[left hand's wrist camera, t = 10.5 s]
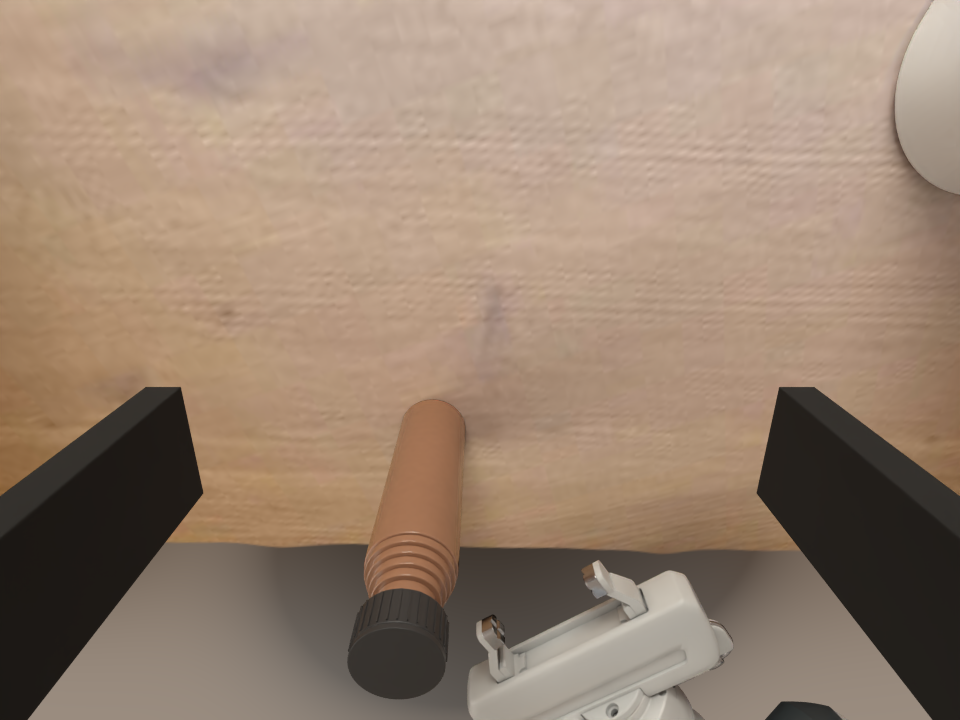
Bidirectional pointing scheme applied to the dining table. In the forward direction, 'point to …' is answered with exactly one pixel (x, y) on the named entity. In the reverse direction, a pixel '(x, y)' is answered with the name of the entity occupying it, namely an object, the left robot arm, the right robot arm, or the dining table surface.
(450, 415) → the bottle
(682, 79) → the dining table surface
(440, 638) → the cap
